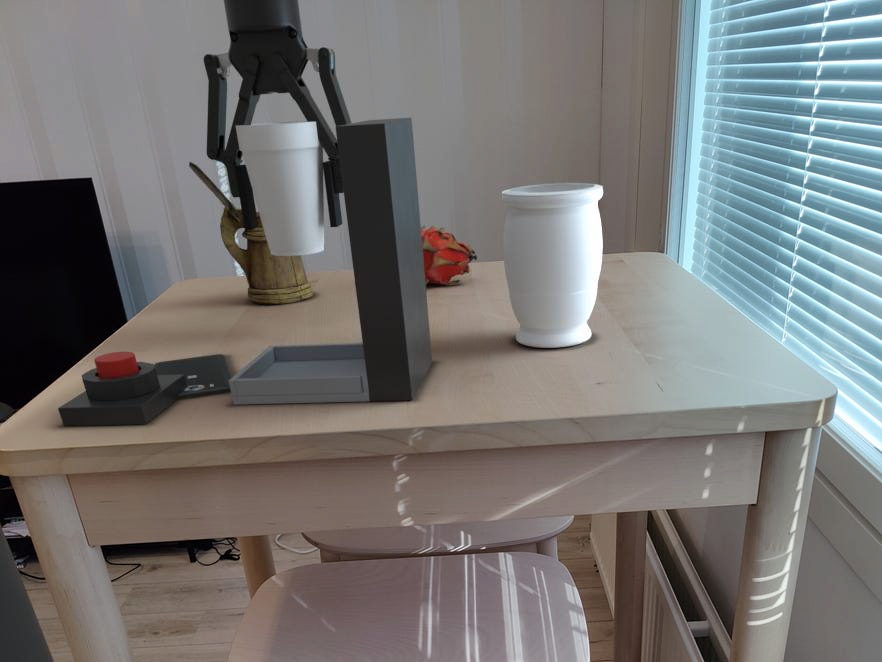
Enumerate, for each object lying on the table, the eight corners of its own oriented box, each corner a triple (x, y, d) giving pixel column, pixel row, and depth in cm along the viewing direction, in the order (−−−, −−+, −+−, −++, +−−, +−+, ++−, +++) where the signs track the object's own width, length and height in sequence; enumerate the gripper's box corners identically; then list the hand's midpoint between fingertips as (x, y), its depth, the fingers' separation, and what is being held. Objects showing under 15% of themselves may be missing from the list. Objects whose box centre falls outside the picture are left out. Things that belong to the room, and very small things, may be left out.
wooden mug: (214, 301, 125) (185, 160, 116) (306, 289, 129) (285, 151, 119) (222, 312, 118) (190, 163, 108) (318, 299, 122) (297, 154, 112)
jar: (529, 325, 101) (526, 182, 93) (613, 330, 97) (617, 180, 89) (490, 348, 93) (483, 194, 85) (580, 354, 89) (581, 193, 81)
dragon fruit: (395, 295, 129) (473, 305, 128) (383, 268, 121) (467, 279, 120) (405, 240, 129) (483, 250, 128) (394, 209, 121) (478, 220, 120)
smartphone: (157, 406, 84) (154, 398, 83) (156, 369, 96) (154, 362, 95) (236, 394, 85) (234, 386, 85) (225, 359, 98) (223, 352, 97)
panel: (63, 426, 79) (50, 388, 77) (113, 393, 87) (103, 358, 85) (146, 424, 78) (135, 385, 76) (188, 391, 86) (180, 355, 84)
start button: (92, 381, 79) (86, 362, 78) (110, 370, 82) (105, 351, 82) (129, 380, 79) (123, 361, 78) (145, 369, 82) (141, 350, 81)
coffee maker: (233, 404, 81) (176, 136, 69) (273, 367, 92) (230, 128, 80) (412, 400, 79) (384, 123, 67) (432, 362, 90) (411, 117, 78)
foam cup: (265, 261, 96) (243, 126, 89) (249, 250, 103) (227, 125, 97) (347, 252, 99) (332, 120, 92) (326, 242, 107) (310, 120, 100)
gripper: (372, -18, 90) (393, 219, 102) (170, -4, 92) (214, 226, 104) (356, -25, 84) (380, 228, 96) (140, -10, 86) (190, 235, 98)
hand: (294, 227), depth 100 cm, fingers closed on foam cup, 9 cm apart
